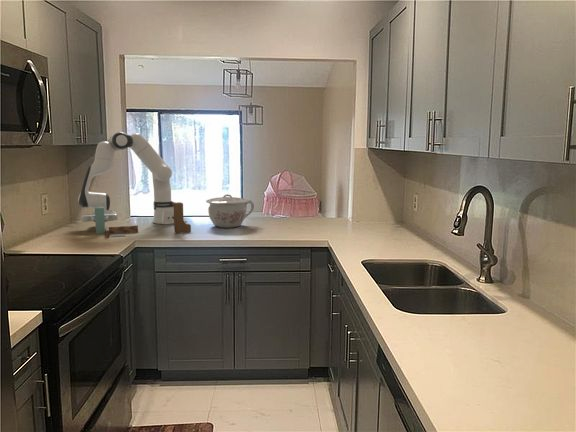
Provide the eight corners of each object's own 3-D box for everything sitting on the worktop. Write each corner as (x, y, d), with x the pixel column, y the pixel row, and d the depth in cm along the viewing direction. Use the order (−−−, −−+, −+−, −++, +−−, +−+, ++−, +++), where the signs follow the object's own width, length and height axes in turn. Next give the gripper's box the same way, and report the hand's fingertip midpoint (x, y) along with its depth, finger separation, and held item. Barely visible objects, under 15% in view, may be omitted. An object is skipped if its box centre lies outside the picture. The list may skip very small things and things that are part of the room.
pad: (124, 233, 285) (124, 233, 285) (125, 236, 278) (125, 235, 278) (109, 234, 283) (109, 234, 282) (110, 237, 275) (110, 236, 275)
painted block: (104, 231, 292) (103, 206, 289) (105, 233, 287) (103, 208, 285) (95, 232, 290) (94, 207, 288) (96, 233, 285) (94, 208, 283)
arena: (137, 231, 292) (137, 225, 291) (139, 235, 280) (139, 229, 279) (106, 233, 285) (105, 227, 284) (106, 237, 273) (106, 230, 272)
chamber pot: (198, 228, 304) (198, 195, 301) (217, 221, 330) (216, 191, 327) (240, 231, 296) (239, 197, 293) (255, 224, 322) (255, 193, 319)
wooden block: (188, 230, 296) (187, 201, 293) (191, 232, 292) (190, 202, 289) (174, 232, 291) (173, 202, 288) (176, 233, 287) (175, 203, 285)
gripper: (80, 211, 295) (80, 215, 282) (116, 210, 302) (117, 213, 290) (81, 222, 296) (81, 225, 283) (116, 220, 303) (118, 223, 291)
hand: (99, 219), depth 286 cm, fingers closed on painted block, 5 cm apart
